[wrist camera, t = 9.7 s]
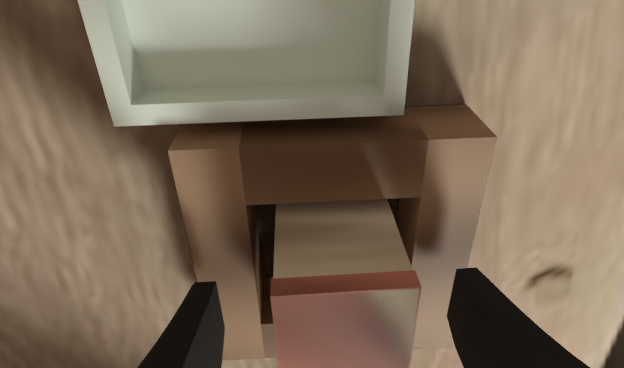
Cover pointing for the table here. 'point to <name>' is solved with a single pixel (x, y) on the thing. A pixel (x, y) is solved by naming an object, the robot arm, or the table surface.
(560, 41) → the table surface
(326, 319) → the pink-ended wooden beam
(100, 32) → the tray
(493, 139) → the wooden square frame
